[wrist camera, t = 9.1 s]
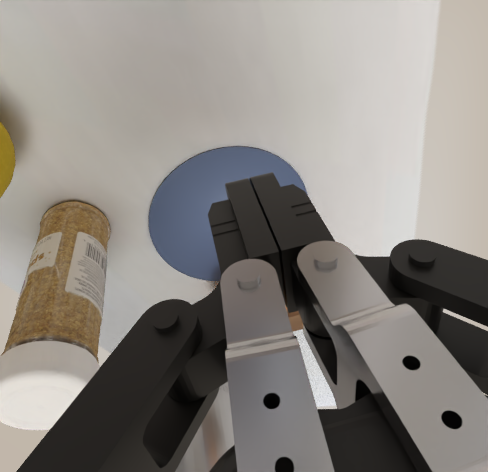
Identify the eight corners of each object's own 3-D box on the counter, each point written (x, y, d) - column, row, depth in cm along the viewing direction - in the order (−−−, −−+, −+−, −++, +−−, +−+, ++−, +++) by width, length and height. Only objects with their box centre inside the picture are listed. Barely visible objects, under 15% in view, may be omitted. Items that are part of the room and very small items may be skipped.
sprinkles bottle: (32, 201, 26) (-37, 386, 16) (106, 196, 27) (85, 368, 17) (50, 255, 29) (2, 442, 19) (116, 249, 30) (105, 424, 20)
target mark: (274, 286, 36) (274, 287, 36) (134, 270, 32) (134, 272, 31) (334, 166, 29) (335, 168, 29) (169, 127, 25) (169, 128, 25)
